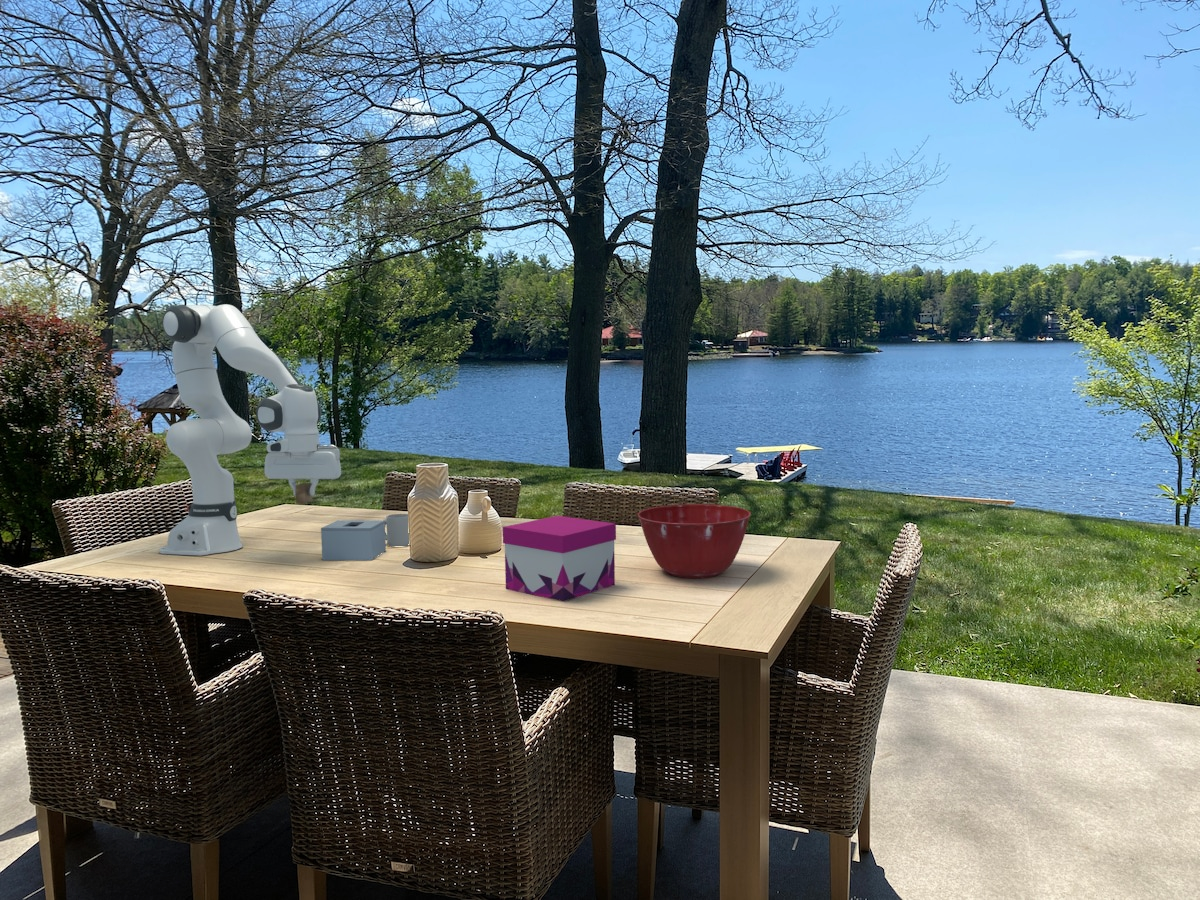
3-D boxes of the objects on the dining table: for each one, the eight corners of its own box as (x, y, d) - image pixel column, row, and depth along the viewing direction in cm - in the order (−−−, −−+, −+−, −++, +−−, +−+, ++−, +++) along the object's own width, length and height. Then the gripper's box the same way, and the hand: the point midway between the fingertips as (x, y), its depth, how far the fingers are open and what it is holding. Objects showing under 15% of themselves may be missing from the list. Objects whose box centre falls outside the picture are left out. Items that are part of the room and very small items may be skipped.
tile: (296, 503, 226) (295, 485, 225) (303, 500, 231) (303, 482, 230) (304, 503, 225) (304, 485, 225) (312, 500, 230) (311, 482, 230)
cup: (404, 548, 247) (403, 518, 247) (374, 546, 250) (373, 517, 249) (416, 543, 254) (415, 514, 254) (386, 541, 257) (385, 513, 256)
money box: (322, 560, 232) (321, 528, 231) (338, 551, 244) (337, 520, 243) (371, 560, 231) (370, 528, 230) (385, 551, 243) (384, 520, 242)
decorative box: (558, 574, 213) (557, 515, 212) (616, 585, 201) (615, 523, 200) (504, 589, 199) (502, 526, 197) (563, 602, 187) (562, 536, 185)
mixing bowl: (660, 590, 196) (659, 525, 194) (624, 564, 223) (623, 506, 222) (770, 581, 203) (770, 518, 202) (722, 556, 231) (722, 501, 229)
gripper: (344, 443, 229) (345, 493, 230) (271, 443, 230) (273, 493, 232) (335, 445, 223) (336, 497, 224) (260, 445, 224) (262, 496, 225)
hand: (304, 495), depth 228 cm, fingers closed on tile, 2 cm apart
